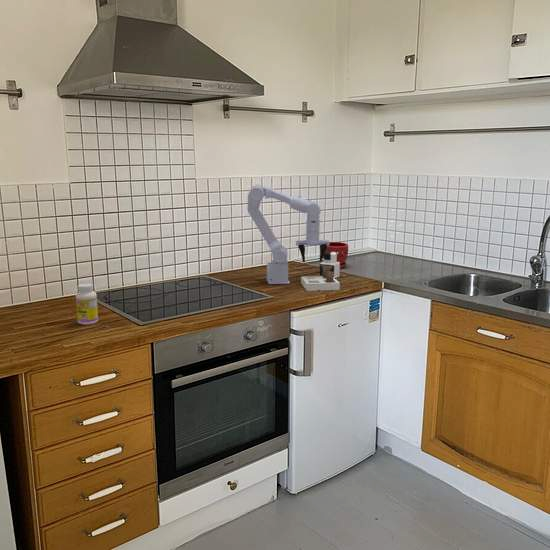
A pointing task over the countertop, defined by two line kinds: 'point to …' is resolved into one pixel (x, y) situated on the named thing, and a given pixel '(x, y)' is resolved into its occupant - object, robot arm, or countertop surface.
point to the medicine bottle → (330, 263)
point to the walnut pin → (329, 277)
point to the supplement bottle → (86, 304)
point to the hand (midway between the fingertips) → (312, 261)
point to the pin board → (319, 282)
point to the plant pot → (339, 251)
